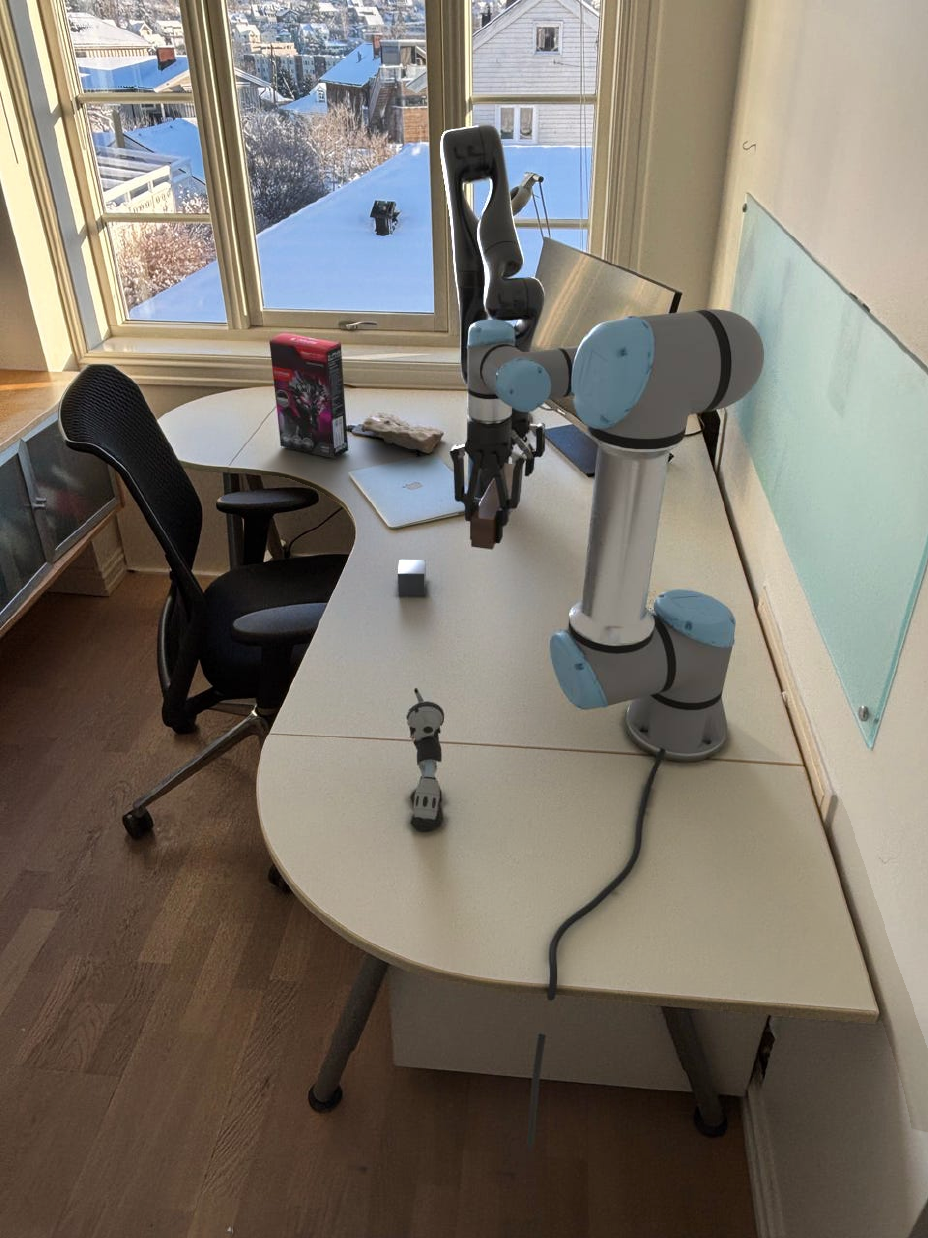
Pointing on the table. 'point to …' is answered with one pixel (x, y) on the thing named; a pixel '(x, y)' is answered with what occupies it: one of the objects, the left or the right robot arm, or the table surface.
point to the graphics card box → (309, 394)
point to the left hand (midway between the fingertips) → (506, 471)
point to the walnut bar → (489, 513)
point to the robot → (426, 762)
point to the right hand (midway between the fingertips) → (486, 537)
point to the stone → (402, 432)
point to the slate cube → (411, 577)
